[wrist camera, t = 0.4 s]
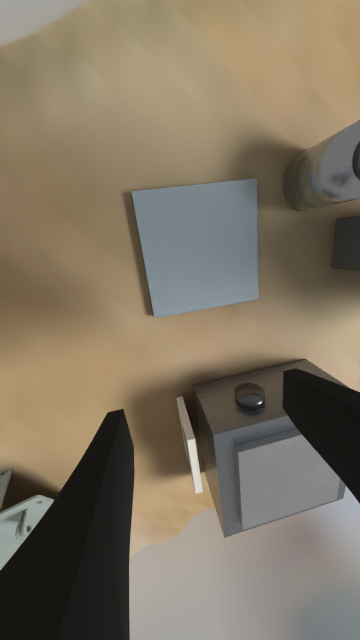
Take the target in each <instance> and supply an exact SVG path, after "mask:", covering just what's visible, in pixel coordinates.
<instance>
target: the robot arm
mask: <svg viewBox="0 0 360 640" xmlns="http://www.w3.org/2000/svg"><path fill="white" fill-rule="evenodd" d="M282 408H283V409H284V411H285V412H286V414H287V415H288V417H289V418H290V420H291V421H292V422H293V424H294V425H295V427H296V428H297V429H298V431H299V432H300V433H301V434H302V435H303V436H304V438H305V439H306V440H307V441H308V442H309V443H310V445H311V446H312V447H313V448H314V449H315V450H316V451H317V453H318V454H319V455H320V456H321V457H322V458H323V459H324V461H325V462H326V463H327V464H328V465H329V466H330V467H331V469H332V470H333V471H334V472H335V473H336V474H337V475H338V477H339V478H340V479H341V480H342V481H343V482H344V484H345V485H346V486H347V487H348V488H349V490H350V491H351V492H352V494H353V495H354V496H355V498H356V499H357V500H358V501H359V503H360V392H358V391H355V390H352V389H350V388H347V387H344V386H342V385H339V384H337V383H334V382H332V381H329V380H326V379H324V378H321V377H319V376H316V375H314V374H311V373H308V372H306V371H303V370H300V369H297V368H294V369H290V370H286V371H283V401H282ZM133 488H134V446H133V442H132V439H131V435H130V432H129V428H128V424H127V421H126V417H125V414H124V410H123V409H121V410H116V411H112V412H108V413H107V415H106V416H105V418H104V420H103V422H102V424H101V426H100V427H99V429H98V431H97V433H96V435H95V436H94V438H93V440H92V442H91V443H90V445H89V447H88V448H87V450H86V452H85V454H84V455H83V457H82V459H81V460H80V462H79V463H78V465H77V467H76V468H75V470H74V471H73V473H72V474H71V476H70V477H69V479H68V481H67V482H66V484H65V485H64V487H63V488H62V490H61V491H60V493H59V494H58V496H57V497H56V498H55V500H54V501H53V503H52V504H51V506H50V507H49V508H48V510H47V511H46V513H45V514H44V515H43V517H42V518H41V519H40V521H39V522H38V523H37V525H36V526H35V527H34V529H33V530H32V531H31V533H30V534H29V535H28V536H27V538H26V539H25V540H24V542H23V543H22V544H21V545H20V547H19V548H18V549H17V550H16V552H15V553H14V554H13V555H12V557H11V558H10V559H9V560H8V562H7V563H6V564H5V565H4V567H3V568H2V569H1V570H0V640H129V549H130V532H131V518H132V503H133Z"/></svg>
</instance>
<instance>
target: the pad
mask: <svg viewBox="0 0 360 640" xmlns="http://www.w3.org/2000/svg"><path fill="white" fill-rule="evenodd" d="M131 192H132V198H133V203H134V209H135V214H136V220H137V225H138V231H139V236H140V242H141V247H142V253H143V258H144V264H145V269H146V275H147V280H148V286H149V291H150V297H151V302H152V308H153V313H154V318H159V317H164V316H169V315H175V314H180V313H186V312H191V311H197V310H202V309H207V308H213V307H218V306H224V305H229V304H235V303H240V302H246V301H251V300H256V299H259V296H258V202H257V178H253V179H244V180H235V181H225V182H216V183H206V184H197V185H188V186H178V187H169V188H159V189H150V190H140V191H131Z"/></svg>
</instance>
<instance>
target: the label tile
mask: <svg viewBox="0 0 360 640" xmlns="http://www.w3.org/2000/svg"><path fill="white" fill-rule="evenodd" d="M176 399H177V405H178V411H179V417H180V423H181V429H182V435H183V441H184V446H185V450H186V454H187V459H188V463H189V467H190V471H191V475H192V480H193V484H194V488H195V492H196V494H197V493H201V492H203V490H202V483H201V476H200V469H199V462H198V456H197V449H196V442H195V437H194V433H193V430H192V427H191V423H190V420H189V417H188V413H187V410H186V407H185V403H184V400H183V397H182V396H181V397H177V398H176Z"/></svg>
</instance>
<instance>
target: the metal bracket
mask: <svg viewBox="0 0 360 640" xmlns="http://www.w3.org/2000/svg"><path fill="white" fill-rule="evenodd" d="M12 471H13V470H9V471H6V472H5V474H4V475H3V474H0V510H1V507H2V503H3V500H4V497H5V493H6V490H7V487H8V484H9V480H10V477H11V474H12ZM37 501H38V502H37ZM53 501H54V500H53V499H51V498H48V497H45V496H42V495H35V496H33V497H31V498H29V499H27V500H24V501H22V502H20V503H18V504H16V505H14V506H12V507H10V508H8V509H6V510H4V511H2V512H0V570H1V569H2V568H3V567H4V565H5V564H6V563H7V562H8V560H9V559H10V558H11V557H12V555H13V554H14V553H15V552H16V550H17V549H18V548H19V547H20V545H21V544H22V543H23V542H24V540H25V539H26V538H27V536H28V535H29V534H30V533H31V531H32V530H33V529H34V527H35V526H36V525H37V523H38V522H39V521H40V519H41V518H42V517H43V515H44V514H45V513H46V511H47V510H48V508H49V507H50V506H51V504H52V503H53Z"/></svg>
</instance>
